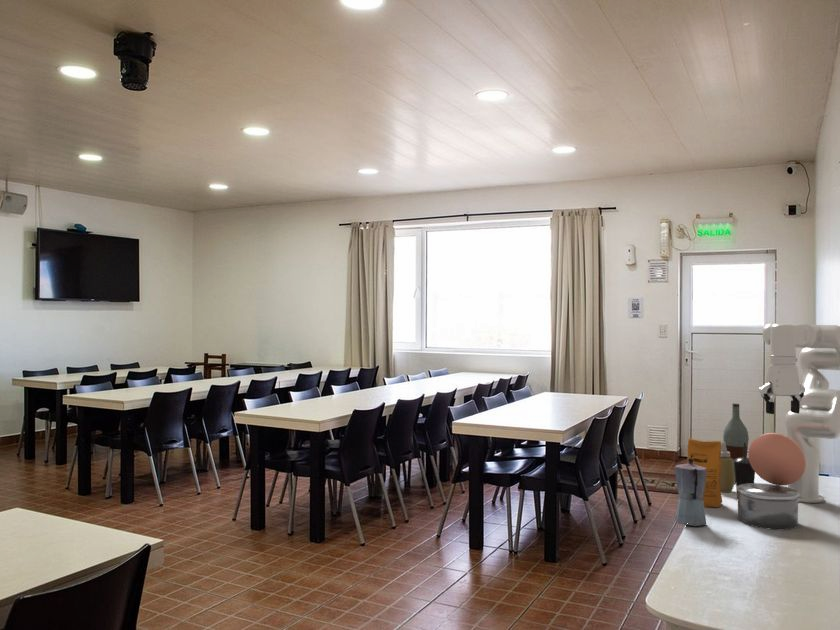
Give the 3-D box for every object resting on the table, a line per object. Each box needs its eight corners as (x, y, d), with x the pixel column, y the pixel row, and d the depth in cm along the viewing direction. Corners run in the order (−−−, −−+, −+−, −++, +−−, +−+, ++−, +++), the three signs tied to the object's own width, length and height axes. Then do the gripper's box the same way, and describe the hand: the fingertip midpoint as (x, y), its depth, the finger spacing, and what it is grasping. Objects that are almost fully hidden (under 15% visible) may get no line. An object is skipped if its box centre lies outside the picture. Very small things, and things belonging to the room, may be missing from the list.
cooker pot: (749, 510, 237) (749, 480, 237) (807, 521, 224) (807, 489, 224) (727, 521, 224) (727, 489, 224) (787, 533, 212) (787, 499, 212)
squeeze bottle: (738, 493, 259) (739, 444, 259) (716, 493, 259) (716, 443, 259) (729, 488, 267) (729, 440, 267) (707, 488, 267) (708, 440, 267)
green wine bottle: (754, 482, 277) (754, 404, 277) (734, 483, 275) (734, 405, 275) (737, 476, 286) (737, 402, 286) (717, 478, 284) (717, 402, 284)
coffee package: (686, 498, 253) (686, 435, 253) (724, 502, 246) (724, 439, 246) (680, 504, 244) (681, 440, 244) (719, 509, 238) (719, 443, 238)
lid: (750, 480, 236) (753, 478, 238) (806, 489, 224) (808, 486, 226) (746, 431, 234) (749, 428, 236) (802, 437, 222) (805, 435, 224)
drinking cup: (755, 503, 246) (755, 445, 246) (731, 500, 250) (731, 443, 250) (758, 498, 252) (758, 442, 252) (734, 495, 256) (734, 440, 256)
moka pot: (700, 517, 229) (700, 454, 229) (715, 531, 213) (715, 464, 213) (669, 516, 230) (669, 454, 230) (682, 530, 214) (682, 464, 214)
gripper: (796, 360, 241) (796, 411, 241) (752, 360, 237) (752, 412, 237) (813, 361, 234) (813, 414, 234) (768, 362, 230) (768, 415, 230)
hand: (782, 413), depth 236 cm, fingers open, 9 cm apart
